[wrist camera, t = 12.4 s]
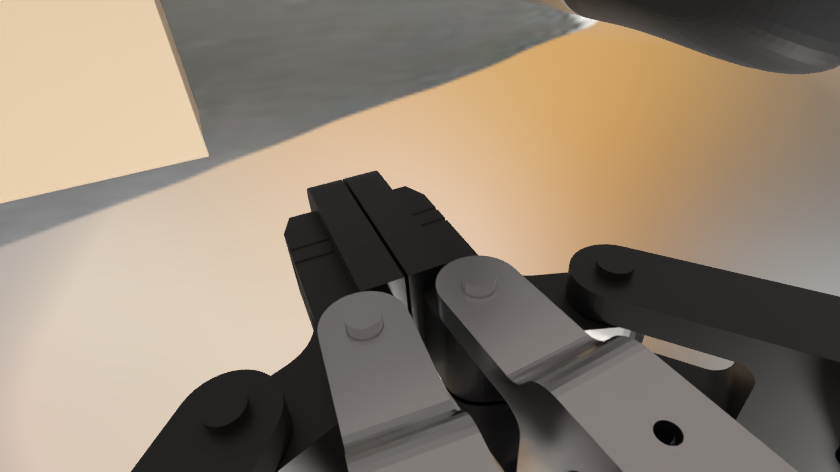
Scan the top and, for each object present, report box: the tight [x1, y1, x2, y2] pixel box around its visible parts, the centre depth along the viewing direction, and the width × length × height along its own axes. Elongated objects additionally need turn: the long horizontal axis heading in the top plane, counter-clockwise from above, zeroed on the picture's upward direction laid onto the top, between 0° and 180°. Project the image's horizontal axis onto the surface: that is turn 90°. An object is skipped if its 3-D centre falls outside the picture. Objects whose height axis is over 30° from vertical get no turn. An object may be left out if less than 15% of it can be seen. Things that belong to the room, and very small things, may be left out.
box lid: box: [0, 0, 209, 203], centre depth 28 cm, size 16×16×1 cm
